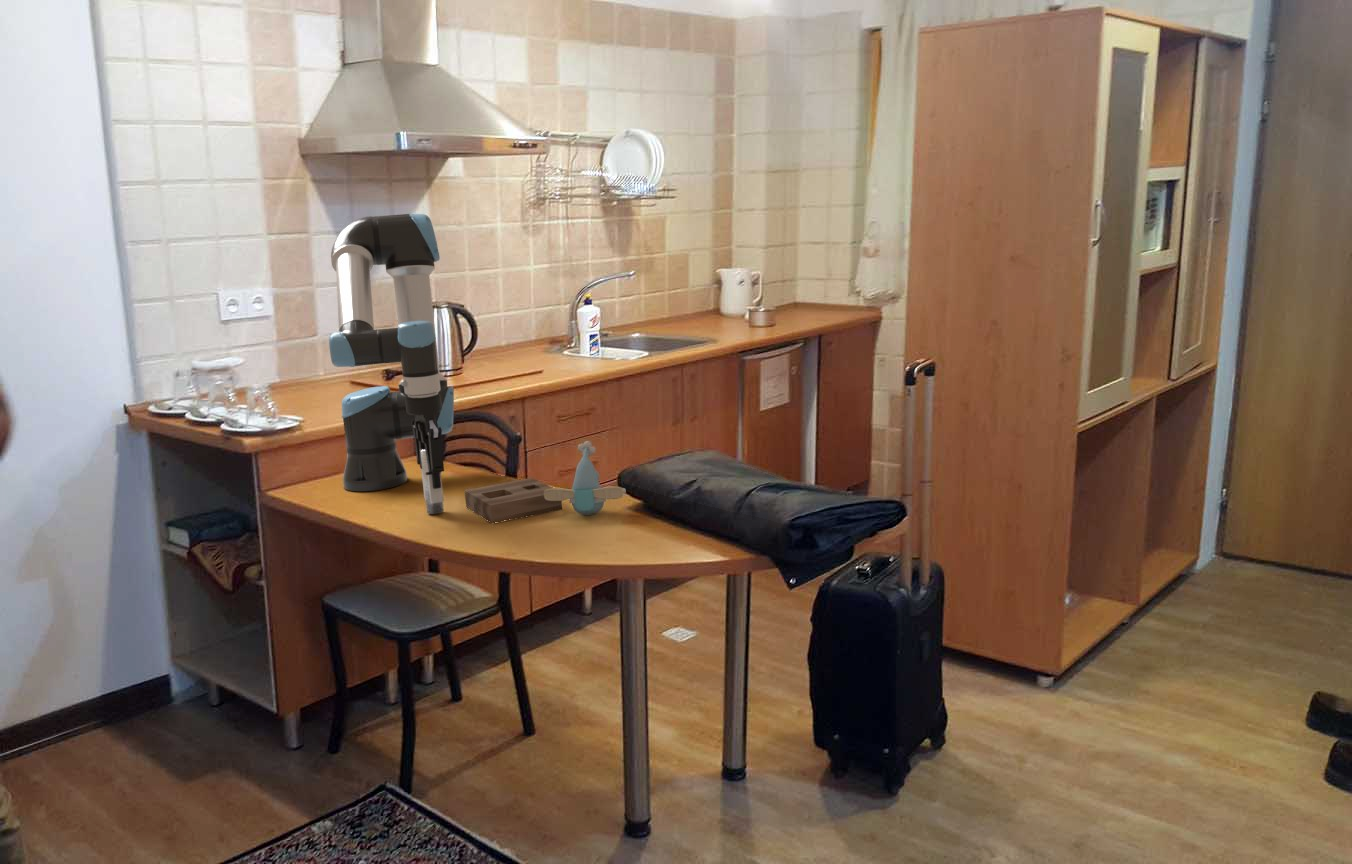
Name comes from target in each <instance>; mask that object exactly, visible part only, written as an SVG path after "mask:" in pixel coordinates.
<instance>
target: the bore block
mask: <svg viewBox="0 0 1352 864" xmlns="http://www.w3.org/2000/svg"><path fill="white" fill-rule="evenodd" d="M551 488H553V486H550V485H549V484H547V483H544V482H542V481H539V480H538V479H536V478H534V477H529V478H523V479H517V480H512V481H507V482H501V483H497V484H491V485H486V486H481V487H475V488H469V489H465V490H464V498H465V508H466V507H467V508H468V509H467V508H466V509H467V510H469V509H470V510H469V511H471V510H472V511H474V512H475V513H477V514H478V515H477V514H476V515H477V516H479V515H480V516H482V517H483V518H482V517H481V518H482V519H484V518H485V519H486V521H487V520H488V521H487V522H489V521H490V522H491V523H490V522H489V523H490V524H492V523H494V524H496V523H495V522H499V523H502V522H501V521H504V520H509V519H514V520H516V519H515V518H519V519H522V518H521V517H524V518H527V517H526V516H528V517H532V516H531V515H533V516H537V515H542V514H546V513H547V514H548V513H553V512H558V511H562V510H563V500H562V501H548V500H546V499H545V498H544V491H545V490H546V489H551ZM472 511H471V512H472ZM474 512H473V513H474ZM475 513H474V514H475ZM480 516H479V517H480ZM485 519H484V520H485ZM509 521H510V520H509ZM504 522H505V521H504Z"/></svg>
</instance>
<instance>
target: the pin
mask: <svg viewBox="0 0 1352 864" xmlns="http://www.w3.org/2000/svg"><path fill="white" fill-rule="evenodd" d="M420 454H421V463H422V469H421V470H422V471H421V473H422V472H423V480H422V482H423V481H424V490H425V499H424V500H425V506H426V507H425V508H426V513H427V514H430V515H435V514H441V513H443V512H444V509H445V508H444V501H443V502H438V503H433V504H431V502H430V493H429V483H428V475H426V472H429V469H428V463H427V457H426V450H425V448H422V449H420ZM424 490H423V491H424Z"/></svg>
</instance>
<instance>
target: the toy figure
mask: <svg viewBox="0 0 1352 864" xmlns="http://www.w3.org/2000/svg"><path fill="white" fill-rule="evenodd" d="M596 449H597V448H596V447H595V446H594V445H592V442H591V441H589V440H586V441H584V443H580V444H579V443H578V445H577V451H579V452H581V455H582V457H581V459H580V460H579V462H578V463H577V466H576V468H575V474H574V475H575V476H574V478H573V483H572V486H571V489H568V488H567V489H566V488H563V487H552V488H551V489H546V490H545V491H544V498H545V499H546V500H548V501H562V502H563V501H566V500H569V504H571V506H572V508H573V510H574V511H575V512H576V513H578V514H580V515H584V516H588V515H595V514H597V513H598V512H599V511H601V510H602V509H603V507H604V504H605V502H607V500H609V501H610V500H618V499H619V500H620V499H622V498H623V497H624V495H625V494H626V493H627V490H626V488H624V487H621V486H616V485H615V486H611V485H608V486H604V487H602V486H601V484H600V482H599V479H600V473H599V472H598V471H597V470H596V468H595V466H594V463H593V462H592V461H591V459H590V458H589V457H590V456H592V454H595V453H596V451H597V450H596Z"/></svg>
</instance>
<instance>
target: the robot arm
mask: <svg viewBox="0 0 1352 864" xmlns="http://www.w3.org/2000/svg"><path fill="white" fill-rule="evenodd" d="M432 223H433V222H432V220H431V218H430V217H429V215H427V214H424V213H410V212H409V213H404V214H401V213H400V214H391V215H390V214H389V215H377V216H363V217H361V218H358V219H355V220H354V221H352V222H350V223H349V224H348V225H347V226H345V227H344V229H342V230H341V232H340V233H339V234H338V235H337V237H336V239H335V240H334V243H333V245H332V248H331V253H330V254H331V255H330V257H331V258H330V259H331V260H330V261H331V267H332V268H333V270H334V272H336V291H337V293H336V294H337V295H336V296H337V297H336V298H337V317H338V318H337V319H338V320H337V321H338V331H336V332H332V333H331V334H329V336H328V346H329V348H328V349H329V354H330V360H331V364H332V365H333V366H334V367H337V368H347V367H349V368H354V367H360V366H361V367H363V366H370V365H380V364H393V363H395V364H396V363H400V364H401V371H402V379H401V380H400V381H399V382H398V385H397V386H398V391H391V389H390V387H389V386H387V385H383V386H373V387H367V388H365V389H361V390H357V391H354V392H351V393H349V394H346V395H345V396H344V397H343V398H342V400H341V412H342V413H341V418H342V420H343V421H342V423H343V428H344V429H343V431H344V438H345V446H346V462H345V467H344V471H343V476H342V485H343V489H344V490H346V491H352V492H371V491H374V492H375V491H380V490H385V489H386V490H387V489H391V488H395V487H399V486H401V485H404V484H405V483H406V482H407V481H408V475H407V473H408V472H407V469H406V468H405V465H404V463H403V461H402V459H401V457H400V455H399V453H398V450H397V443H396V440H404V439H414V447H415V456H416V462H417V463H416V464H417V465H419V468H420V471H421V479H422V487H423V488H422V489H423V497H424V500H426V499H425V490H424V481H423V472H422V463H421V454H420V449H422V448H425V450H426V457H427V463H428V469H429V472H426V475H428V483H429V493H430V502H431V504H433V503H438V502H443V503H444V501H445V499H444V490H443V481H442V473H443V472H444V471H445V467H444V465H445V463H444V454H443V442H442V440H443V439H442V435H446V434H448V433H450V432H452V431H453V427H454V411H455V409H454V407H455V406H454V405H455V400H454V399H455V389H454V386H451V385H448V380H447V378H446V377H445V376H444V375H443V374H442V373H441V372H440V365H439V363H440V361H439V355H438V345H437V344H438V343H437V336H436V327H435V326H436V325H435V317H434V316H435V315H434V306H433V297H432V289H431V280H430V275H431V274H432V273H433V271H434V270H435V262H439V261H440V257H441V256H440V252H439V251H440V250H439V248H438V247H439V246H438V243H437V239H436V234H435V231H434V230H435V229H434V227H433V224H432ZM380 265H382V266H383V265H384V266H385V272H386V273H387V274H388V276H390V277H392V279H393V286H394V287H393V288H394V295H395V304H396V315H397V323H398V326H397V327H393V328H379V329H378V328H376V329H375V326H374V325H375V324H374V310H373V296H372V283H371V271H372V269H373V267H374V266H380Z"/></svg>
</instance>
